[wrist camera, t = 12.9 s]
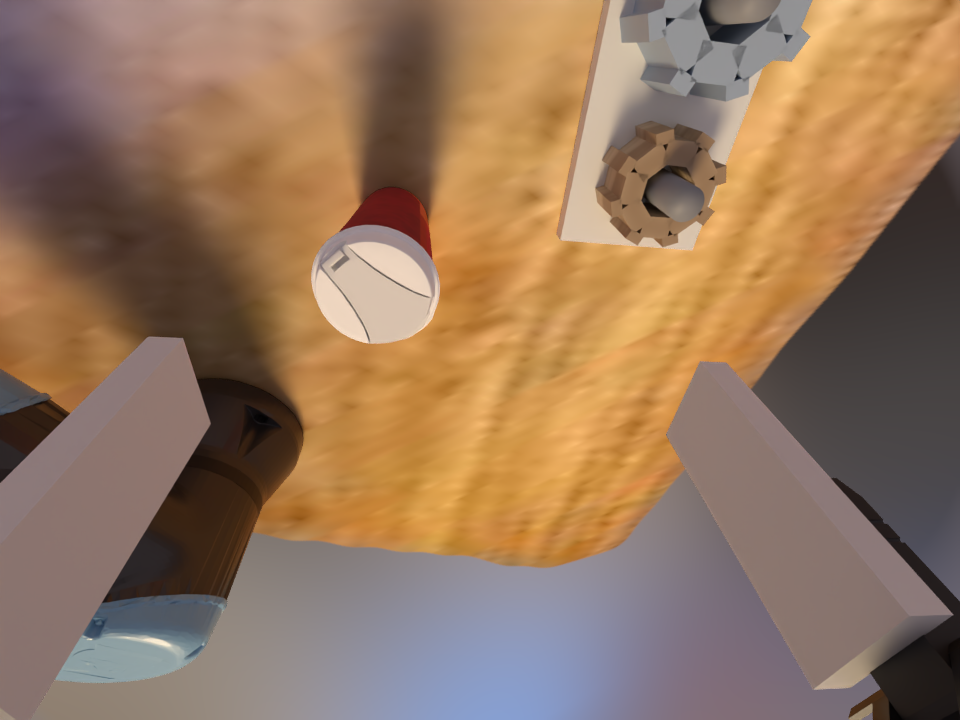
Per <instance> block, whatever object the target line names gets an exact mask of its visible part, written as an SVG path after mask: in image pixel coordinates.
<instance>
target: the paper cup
mask: <svg viewBox="0 0 960 720" xmlns="http://www.w3.org/2000/svg"><path fill="white" fill-rule="evenodd" d="M311 282H312V288H313V292H314V295H315V298H316V300H317V303H318V305H319V308H320V310H321V311H322V313H323V315H324V316H325V318H326V319H327V320H328V321H329V322H330V323H331V324H332V325H333V326H334V327H335V328H336V329H337V330H338V331H340V332H341V333H343V334H344V335H346V336H348V337H350V338H352V339H354V340H357V341H360V342H364V343H390V342H394V341H398V340H403V339H406V338H409V337H411V336H413V335H414V334H416V333H417V332H419V331H420V330H422V329H423V328H424V327H425V326H426V325H427V324H428V323H429V322H430V321H431V319H432V318H433V315H434V312H435V309H436V306H437V303H438V300H439V294H440V282H439V276H438V273H437V270H436V267H435V265H434V263H433V261H432V251H431V241H430V232H429V224H428V218H427V214H426V211H425V209H424V207H423V205H422V204H421V202H420V201H419V200H418V199H417V198H416V197H415V196H414V195H413V194H411V193H410V192H408V191H406V190H404V189H401V188H396V187H387V188H382V189H380V190H377V191H375V192H374V193H372V194H371V195H370V196H369V197H368V198H367V199H366V200H365V201H364V202H363V203H362V205H361V206H360V207H359V208H358V210H357V211H356V212H355V213H354V215H353V216H352V217H351V219H350V220H349V221H348V222H347V223H346V225H345V226H344V227H343V228H342V229H341V230H340V231H339V233H337V234H335V235H334V236H332V237H331V238H330V239H328V240H327V242H326V243H325V244H324V245H323V246H322V247H321V249H320V250H319V252H318V253H317V255H316V258H315V260H314V263H313V267H312V273H311Z"/></svg>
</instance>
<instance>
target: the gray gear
mask: <svg viewBox="0 0 960 720" xmlns="http://www.w3.org/2000/svg"><path fill="white" fill-rule="evenodd" d="M701 1H702V0H636V1H635V5H634V10H633V13H632V14H629V15H626V16H623V17H621V18H619V19H620V31H621V42H622V43H637V44H638V46H639V49H640V51H641V53H642V55H643V57H644V59H645V61H646V63H647V65H648V67H647V69H646V70H645V72H644V74H643V75H642V77H641V78H640V80H641V81H643V82H644V83H645V84H647V85H648V86H650V87H651V88H652V89H654V90H656V91H660V92H665V93H670V94H675V95H680V96H684V97H686V96H687V94H688V93H689V91H690V95H695V96H700V97H705V98H710V99H715V100H720V101H725V102H726V101H729V100H732V99H735V98H739V97H742V96H745V95H748V94H749V78H750V77H752V76H753V75H754V74H756V73H757V72H758V71H759V70H761V69H762V68H763V67H765V66H766V65H767V64H769V63H770V62H771V61H792V60H793V59H794V58H795V56H796V55H797V54H798V52H799V51H800V50H801V48H802V47H803V46H804V44H805V43H806V42H807V41H808V39H809V38H810V36H809V35H808V34H807V33H806V32H805V31H804V30H803V29H802V28H801V26H802V24H803V22H804V19H805V17H806V14H807V12H808V9H809V7H810V5H811V2H812V0H781V2H780V4H779V5H778V7H777V8H776V10H775V11H774V12H773V13H772V14H771V15H770V16H769V17H767V18H766V19H764V20H762V21H760V22H754V23H740V24H727V25H723V26H722V27H721V28H720V29H718V30H717V31H716V32H715V33H714V34H712V35H711V36H710V37H709V35H708V33H707V30H706V28H705V25H704V23H703V20H702V18H701V15H700V13H699V8H700V4H701Z"/></svg>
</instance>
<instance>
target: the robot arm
mask: <svg viewBox="0 0 960 720" xmlns="http://www.w3.org/2000/svg"><path fill="white" fill-rule="evenodd" d="M51 398H52V397H50V396H49V395H48V394H47V393H40V392H38V391H36V390H35V389H33V388H31V387H30V386H28V385H26V384H25V383H23V382H22V381H20V380H18V379H17V378H15V377H13V376H12V375H10V374H8V373H7V372H5V371H3V370H2V369H0V720H30V719H31V718H32V716H33V714H34V713H35V711H36V709H37V708H38V706H39V705H40V703H41V701H42V700H43V698H44V696H45V695H46V693H47V691H48V690H49V688H50V687H51V685H52V683H53V682H54V680H61V681H70V682H85V683H110V682H126V681H135V680H142V679H147V678H153V677H157V676H161V675H164V674H168V673H171V672H173V671H176V670H178V669H180V668H182V667H184V666H186V665H187V664H189V663H190V662H191V661H193V660H194V659H195V658H196V657H197V656H198V655H199V654H200V653H201V652H202V651H203V649H204V648H205V646H206V645H207V643H208V641H209V639H210V637H211V634H212V632H213V630H214V628H215V626H216V624H217V622H218V620H219V618H220V616H221V613H222V612H223V611H224V610H225V608H226V606H227V598H228V595H229V593H230V590H231V587H232V585H233V582H234V579H235V577H236V574H237V571H238V568H239V566H240V563H241V561H242V558H243V556H244V553H245V550H246V548H247V545H248V543H249V540H250V537H251V534H252V532H253V530H254V527H255V524H256V522H257V519H258V516H259V514H260V511H261V509H262V506H263V505H264V504H265V502H266V501H267V500H268V499H269V498H270V497H271V496H272V495H273V493H274V492H275V491H276V490H277V489H278V488H279V486H280V485H281V484H282V483H283V482H284V480H285V479H286V478H287V477H288V476H289V475H290V474H291V472H292V471H293V469H294V468H295V466H296V464H297V461H298V458H299V455H300V453H301V450H302V446H303V434H302V430H301V427H300V425H299V423H298V421H297V419H296V418H295V416H294V415H293V414H292V412H291V411H290V410H289V409H288V408H287V407H286V406H285V405H284V404H283V403H281V402H280V401H279V400H277V399H276V398H275V397H273V396H271V395H270V394H268V393H266V392H264V391H262V390H260V389H258V388H256V387H253V386H250V385H247V384H244V383H240V382H236V381H231V380H224V379H202V380H196V377H195V373H194V370H193V367H192V364H191V361H190V358H189V355H188V352H187V349H186V346H185V343H184V340H183V338H170V337H147V338H146V339H145V340H144V341H143V342H142V343H141V344H140V345H139V346H138V347H137V348H136V349H135V350H134V351H133V352H132V353H131V354H130V355H129V356H128V357H127V358H126V359H125V360H124V361H123V362H122V363H121V364H120V365H119V366H118V367H117V368H116V369H115V370H114V371H113V372H112V373H111V374H110V375H109V376H108V377H107V378H106V379H105V380H104V381H103V382H102V383H101V384H100V385H99V386H98V387H97V388H96V389H95V390H94V391H93V392H92V393H91V394H90V395H89V396H88V397H87V398H86V399H85V400H84V401H83V402H82V403H81V404H80V405H79V406H78V407H77V408H76V409H75V410H74V411H73V412H72V413H71V414H70V413H69V412H67V411H66V410H64V409H63V408H61V407H60V406H59V405H57V404H56V403H54V402H53V401H52V400H50V399H51ZM666 436H667V438H668V439H669V441H670V443H671V445H672V446H673V448H674V450H675V451H676V453H677V455H678V457H679V458H680V460H681V462H682V464H683V465H684V467H685V469H686V471H687V472H688V474H689V476H690V477H691V479H692V481H693V482H694V484H695V486H696V488H697V490H698V491H699V493H700V495H701V496H702V498H703V500H704V502H705V503H706V505H707V507H708V508H709V510H710V512H711V513H712V515H713V517H714V519H715V521H716V522H717V524H718V526H719V527H720V529H721V531H722V532H723V534H724V536H725V538H726V540H727V541H728V543H729V545H730V546H731V548H732V550H733V552H734V553H735V555H736V557H737V559H738V560H739V562H740V564H741V566H742V567H743V569H744V571H745V573H746V574H747V576H748V578H749V579H750V581H751V583H752V585H753V586H754V588H755V590H756V592H757V593H758V595H759V597H760V598H761V600H762V602H763V603H764V605H765V607H766V609H767V610H768V612H769V614H770V616H771V617H772V619H773V621H774V623H775V625H776V626H777V628H778V630H779V631H780V633H781V635H782V636H783V638H784V640H785V642H786V643H787V645H788V647H789V649H790V650H791V652H792V654H793V655H794V657H795V659H796V661H797V663H798V664H799V666H800V668H801V669H802V671H803V673H804V675H805V676H806V678H807V680H808V682H809V683H810V685H811V687H812V689H813V690H814V689H834V688H835V689H836V688H851V687H852V686H853V685H855V684H856V683H858V682H859V681H860V680H862V679H863V678H865V677H866V676H868V675H869V674H870V673H871V675H872V676H873V678H874V679H875V681H876V682H877V684H878V685H879V686H880V688H881V689H880V690H879V691H877V692H876V693H874V694H873V695H871V696H870V697H868V698H867V699H865V700H863V701H862V702H861V703H859V704H858V705H856V706H854V707H853V708H851V711H850V714H849V718H848V719H850V720H861V719H862V718H864V717H866V716H867V715H869V714H871V713H872V712H873V720H960V601H959V600H958V599H957V598H956V597H955V596H954V595H953V594H952V593H951V592H950V591H949V589H948V588H947V587H946V586H945V585H944V584H943V583H942V582H941V581H940V580H939V579H938V578H937V577H936V576H935V575H934V573H933V572H932V571H931V570H930V569H929V568H928V567H927V566H926V565H925V564H924V563H923V562H922V561H921V560H920V559H919V557H918V556H917V555H916V554H915V553H914V552H913V551H912V550H911V549H910V548H909V547H908V546H907V545H906V543H902V542H901V541H900V537H899V536H898V535H897V534H896V533H895V532H894V531H893V530H892V529H891V527H890V526H889V525H887V524H884V523H883V519H882V518H881V517H880V516H879V515H878V513H877V512H876V511H875V510H874V509H873V508H872V507H871V506H870V505H869V504H868V503H867V502H866V501H865V500H864V498H863V497H861V496H860V495H859V494H857V493H855V492H854V491H853V490H852V489H850V488H849V487H848V486H846V485H845V484H844V483H842V482H841V481H839V480H838V479H837V478H830V477H829V476H828V475H827V474H826V473H825V472H824V470H822V468H821V467H820V466H819V465H818V464H817V463H816V462H815V461H814V459H813V458H812V457H811V456H810V455H809V454H808V453H807V452H806V451H805V449H804V448H803V447H802V446H801V445H800V444H799V443H798V442H797V441H796V439H795V438H794V437H793V436H792V435H791V434H790V433H789V432H788V431H787V429H786V428H785V427H784V426H783V425H782V424H781V423H780V422H779V421H778V420H777V418H776V417H775V416H774V415H773V414H772V413H771V412H770V411H769V410H768V408H767V407H766V406H765V405H764V404H763V403H762V402H761V401H760V399H759V398H758V397H757V396H756V395H755V394H754V393H753V392H752V391H751V389H750V388H749V387H748V386H747V385H746V384H745V383H744V382H743V381H742V379H741V378H740V377H739V376H738V375H737V374H736V373H735V372H734V371H733V369H732V368H731V367H730V366H729V365H728V364H727V363H723V362H701V361H700V363H699V365H698V367H697V369H696V371H695V374H694V376H693V378H692V380H691V382H690V384H689V386H688V389H687V391H686V393H685V395H684V397H683V399H682V401H681V404H680V406H679V408H678V410H677V412H676V414H675V416H674V419H673V421H672V423H671V425H670V427H669V429H668V432H667V434H666Z"/></svg>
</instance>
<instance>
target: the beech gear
mask: <svg viewBox="0 0 960 720" xmlns="http://www.w3.org/2000/svg"><path fill="white" fill-rule="evenodd" d="M635 129H636V137H634V138H633V139H632V140H631V141H629V142H628V143H627V144H626V145H624V146H623V147H622V148H621V149H619V150H618V149H617V148H615V147H613V146H612V145H611V146H610V148H609V150H608V151H607V153H606V154H605V156H604V157H603V159H602V161H603V162H605V163H606V164H608V165H609V167H608V171H607V175H606V179H605V183H604V185H603V186H600V187H597V188H595V191H596V198H597V203H598V204H599V205H600V206H601V207H602V208H603V209H604V210H605V211H606V212H607V213H608V214H609V215H610V216H611V217H612V219H611V220H610V223H611V224H612V225H613V226H614V227H615V228H616V229H617V230H618V231H619V232H620V233H621V234H622V235H623V236H624V237H625V238H626V239H627V240H629V241H631V242H632V243H634V244H636V245H638V244H639V243H640V241H641V240H642V239H643V237H646V238H653V239H654V240H655V241H656V242H658V243H659V244H660V245H661V246H662V247H666V246H669V245H672V244H676V243H678V234H679V233H680V232H682V231H683V230H684V229H686V228H687V227H689V226H690V225H692V224H693V223H695V222H696V221H697V222H698V223H700V224H701V225H704V224H705V223H706V221H707V220H708V219H709V218H710V216H711V215H712V214H713V213H714V211H713V210H712V209H710V208H709V207H708V205H709V202H710V200H711V197H712V194H713V192H714V189H715V187H716V186H717V185H720V184H723V183H726V165H724V164H721V163H719V162H717V161H714V160H712V159H711V157H710V155H709V152H708V150H709V149H710V148H711V146H712V145H713V144H714V142H715V140H713V139H712V138H711V137H709V136H708V135H706V134H705V133H704V132H702V131H699V130H696V129H693V128H690V127H687V126H684V125H681V124H677V125H676V126H675V128H674V129H673V128H671V127H668V126H665V125H662V124H659V123H657V122H654V121H648V122H645V123H642V124H639V125H636V126H635ZM666 165H669V167H670V169H671V171H672V172H671V173H673V174H675V175H677V176H679V177H680V178H682V179H684V180H686V181H688V182H689V183H691V184H693V185H695V186H697V187H698V188H700V189H701V190H702V191H703V193H704V198H705V200H704V205H703V208H702V209H701V211H700V212H699V214H698V215H697V216H696V217H694V218H693V219H691V220H689V221H687V222H677V221H675V220H673V219H672V218H670V217H669V216H668V215H666V214H665V213H664V212H662V211H661V210H660V209H658V208H657V207H656V206H654V205H653V204H652V203H650V202H649V203H646V202H642V201H641V200H642V197H643V193H644V190H645V187H646V183H647V180H648V179H649V178H650V177H652V176H653V175H654V174H656V173H657V172H658V171H660V170H661V169H662V168H663V167H665V166H666Z"/></svg>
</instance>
